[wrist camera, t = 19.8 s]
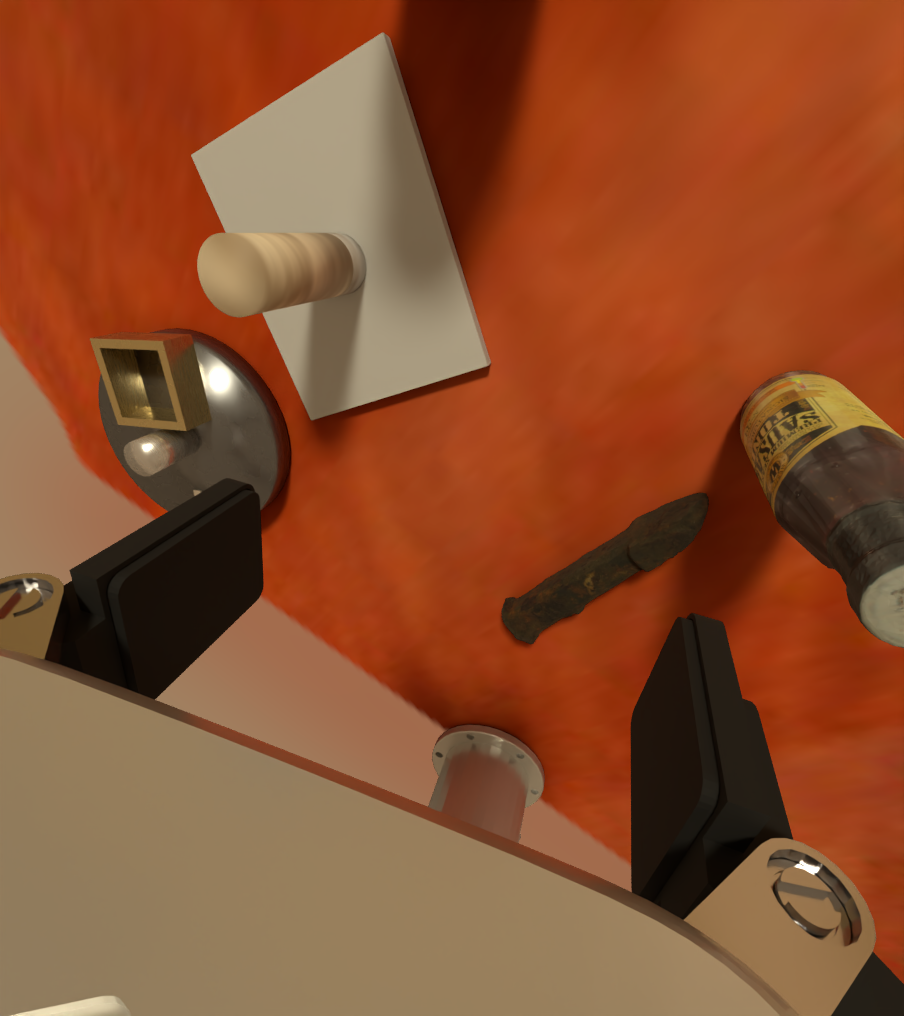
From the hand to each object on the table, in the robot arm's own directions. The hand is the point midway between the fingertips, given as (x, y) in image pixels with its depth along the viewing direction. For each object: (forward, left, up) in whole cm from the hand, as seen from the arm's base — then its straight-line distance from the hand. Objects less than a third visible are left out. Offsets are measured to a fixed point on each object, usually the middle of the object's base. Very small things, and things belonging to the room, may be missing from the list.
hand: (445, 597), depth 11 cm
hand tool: (-17, +2, -30) cm, 34 cm away
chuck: (+3, +34, -29) cm, 45 cm away
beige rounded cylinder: (+10, +14, -28) cm, 33 cm away
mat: (+11, +14, -29) cm, 34 cm away
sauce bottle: (-8, -12, -30) cm, 33 cm away
